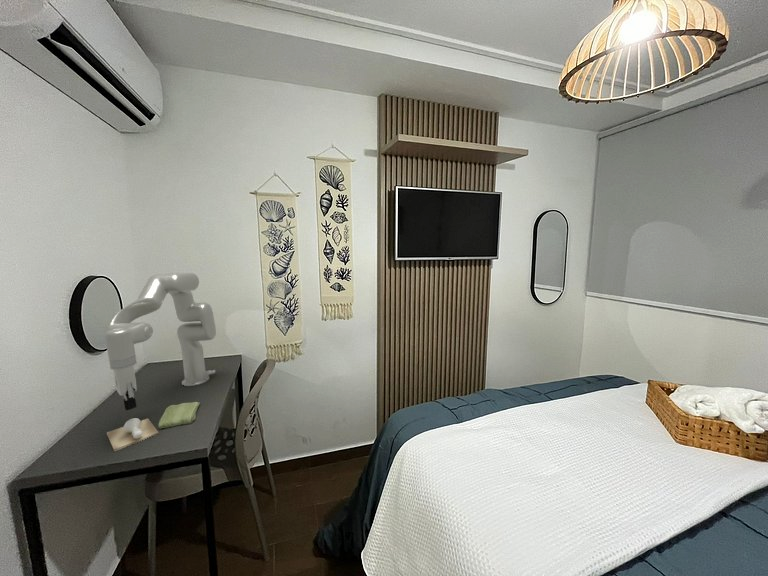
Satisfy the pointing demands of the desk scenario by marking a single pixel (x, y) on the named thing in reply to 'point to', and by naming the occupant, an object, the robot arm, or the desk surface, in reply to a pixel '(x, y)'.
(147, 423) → the oak pad
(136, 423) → the chess pawn
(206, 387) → the desk surface
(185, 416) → the washcloth
